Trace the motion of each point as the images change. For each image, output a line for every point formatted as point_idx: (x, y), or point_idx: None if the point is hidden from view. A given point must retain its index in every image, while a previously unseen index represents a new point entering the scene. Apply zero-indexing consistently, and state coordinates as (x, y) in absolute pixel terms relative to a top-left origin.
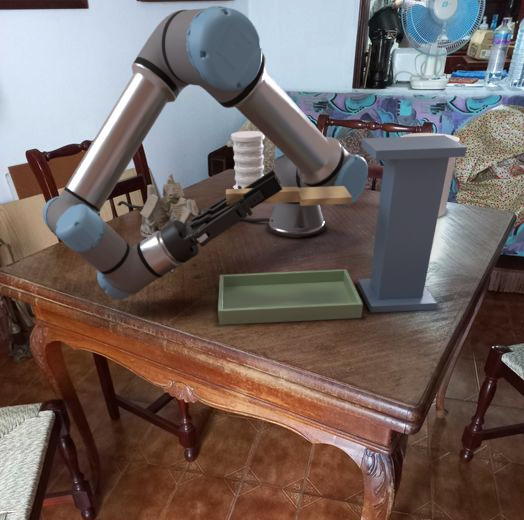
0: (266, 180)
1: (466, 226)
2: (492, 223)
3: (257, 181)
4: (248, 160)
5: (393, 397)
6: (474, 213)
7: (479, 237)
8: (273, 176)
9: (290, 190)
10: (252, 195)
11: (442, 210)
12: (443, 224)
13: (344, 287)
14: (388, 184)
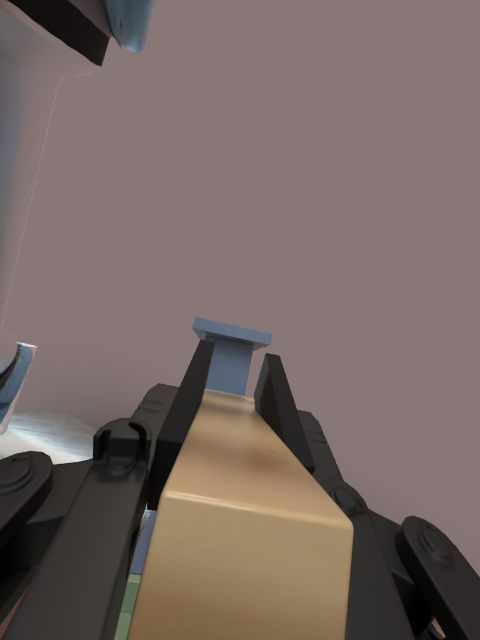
0: (277, 370)
1: (55, 432)
2: (68, 423)
3: (204, 379)
4: None
5: None
6: (34, 418)
7: (87, 437)
8: (278, 357)
9: (241, 399)
10: (312, 442)
11: (8, 422)
12: (28, 437)
13: (128, 616)
14: (227, 378)
